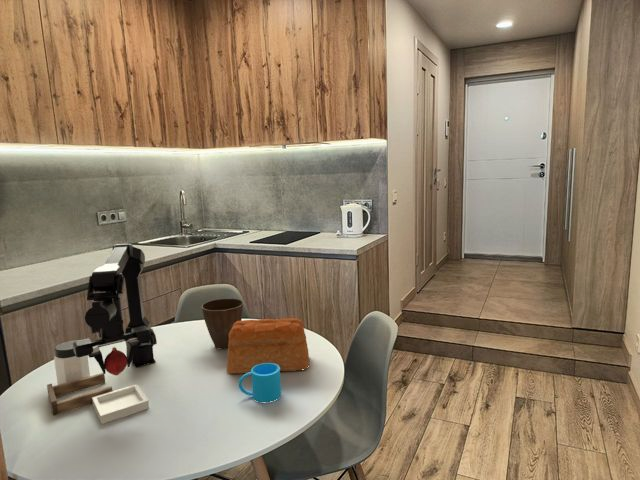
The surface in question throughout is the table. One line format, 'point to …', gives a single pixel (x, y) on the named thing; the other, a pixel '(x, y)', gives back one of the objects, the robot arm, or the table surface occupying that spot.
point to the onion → (115, 362)
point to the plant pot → (221, 319)
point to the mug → (264, 382)
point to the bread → (267, 345)
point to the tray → (119, 403)
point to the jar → (69, 364)
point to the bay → (73, 387)
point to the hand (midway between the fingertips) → (116, 370)
